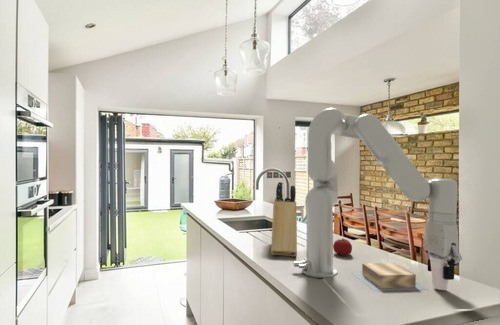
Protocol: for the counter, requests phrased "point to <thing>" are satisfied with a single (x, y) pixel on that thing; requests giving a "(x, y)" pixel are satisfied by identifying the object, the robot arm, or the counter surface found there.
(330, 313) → the counter surface
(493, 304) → the counter surface
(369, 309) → the counter surface
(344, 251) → the tomato
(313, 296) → the counter surface
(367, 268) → the oak riser
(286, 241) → the knife block
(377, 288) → the base board
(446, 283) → the smoothie
